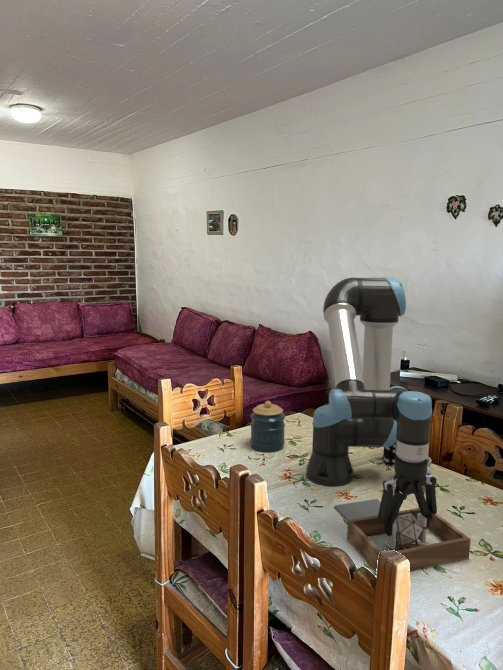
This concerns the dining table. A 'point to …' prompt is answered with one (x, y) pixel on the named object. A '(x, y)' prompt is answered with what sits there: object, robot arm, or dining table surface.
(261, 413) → the canister
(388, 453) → the white-spotted black cylinder
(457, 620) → the dining table surface
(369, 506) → the pad
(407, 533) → the game die
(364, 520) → the rectangular frame
